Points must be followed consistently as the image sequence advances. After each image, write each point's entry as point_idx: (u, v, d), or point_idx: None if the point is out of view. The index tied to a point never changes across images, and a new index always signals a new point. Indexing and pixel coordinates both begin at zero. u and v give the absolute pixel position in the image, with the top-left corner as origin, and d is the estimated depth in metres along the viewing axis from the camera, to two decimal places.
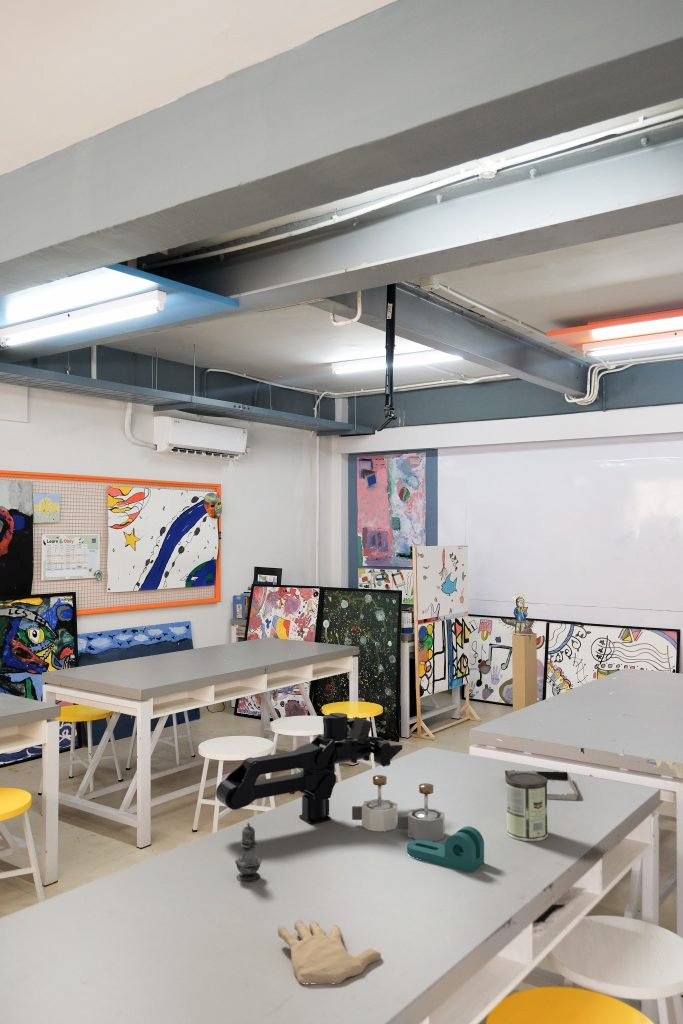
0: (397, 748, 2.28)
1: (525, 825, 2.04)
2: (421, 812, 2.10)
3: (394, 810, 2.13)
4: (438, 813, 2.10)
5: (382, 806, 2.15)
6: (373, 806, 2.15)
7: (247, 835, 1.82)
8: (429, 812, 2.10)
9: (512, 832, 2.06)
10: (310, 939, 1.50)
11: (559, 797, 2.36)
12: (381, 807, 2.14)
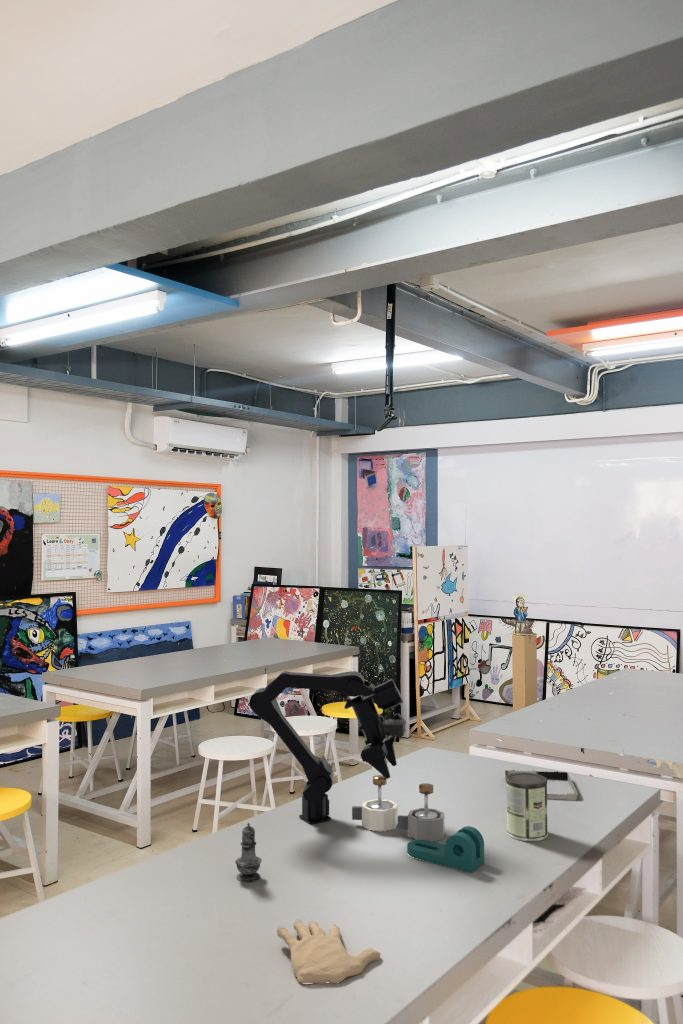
0: (384, 771, 2.14)
1: (525, 825, 2.04)
2: (421, 812, 2.10)
3: (394, 810, 2.13)
4: (438, 813, 2.10)
5: (382, 806, 2.15)
6: (373, 806, 2.15)
7: (247, 835, 1.82)
8: (429, 812, 2.10)
9: (512, 832, 2.06)
10: (309, 939, 1.50)
11: (559, 797, 2.36)
12: (381, 807, 2.14)
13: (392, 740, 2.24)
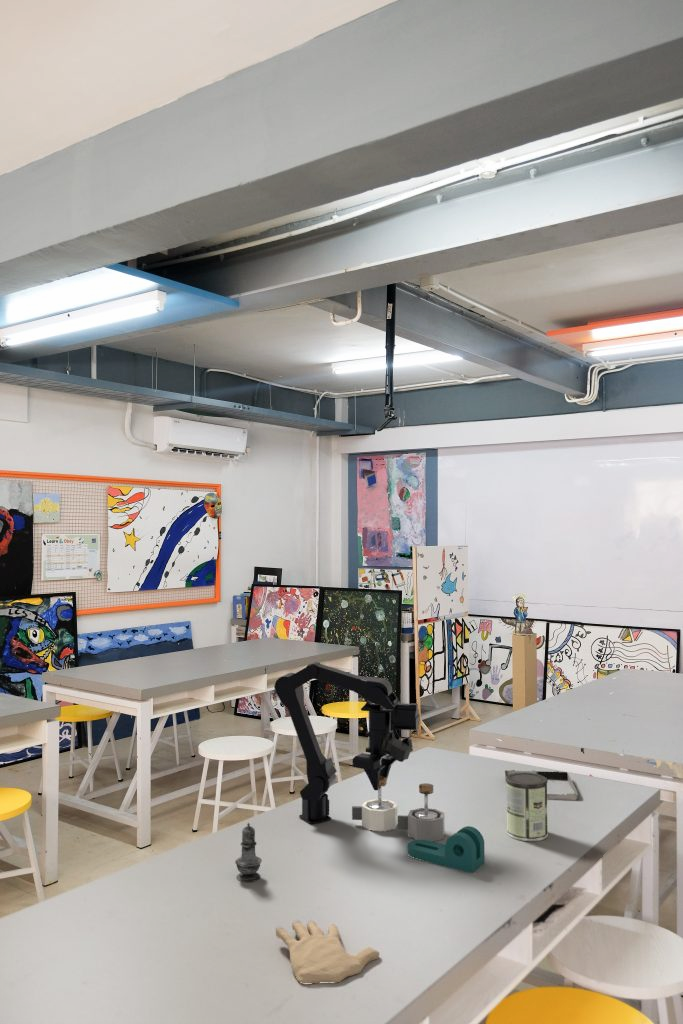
0: (374, 782, 2.13)
1: (525, 825, 2.04)
2: (421, 812, 2.10)
3: (394, 810, 2.13)
4: (438, 813, 2.10)
5: (382, 806, 2.15)
6: (373, 806, 2.15)
7: (247, 835, 1.82)
8: (429, 812, 2.10)
9: (512, 832, 2.06)
10: (308, 939, 1.50)
11: (559, 797, 2.36)
12: (381, 807, 2.14)
13: (390, 762, 2.17)
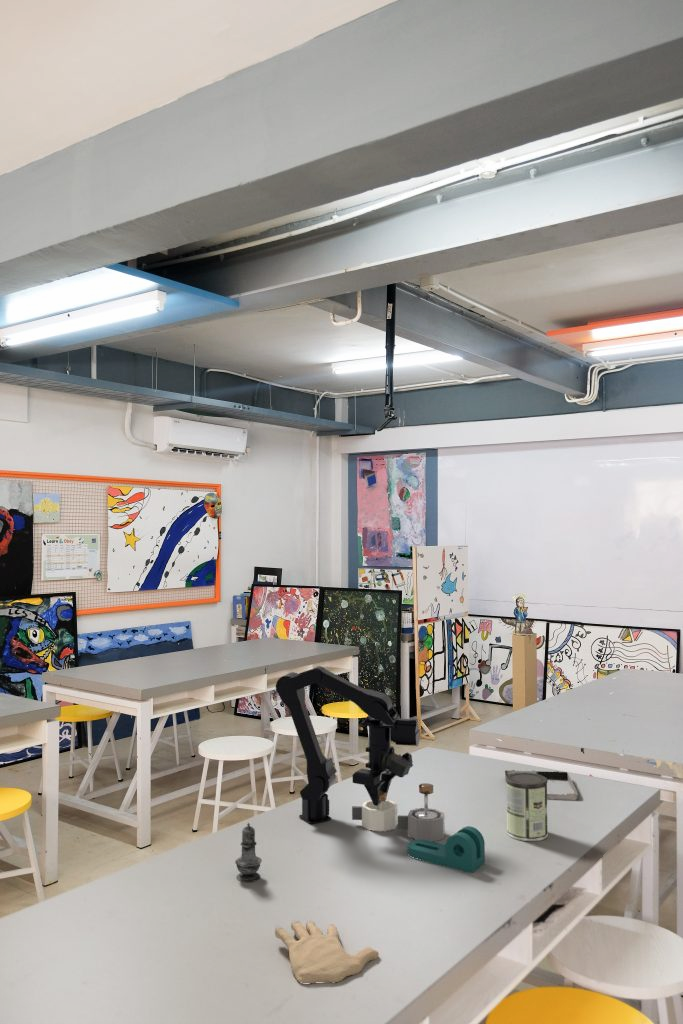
0: (374, 798, 2.13)
1: (525, 825, 2.04)
2: (421, 812, 2.10)
3: (394, 810, 2.13)
4: (438, 813, 2.10)
5: None
6: None
7: (247, 835, 1.82)
8: (429, 812, 2.10)
9: (512, 832, 2.06)
10: (307, 939, 1.50)
11: (559, 797, 2.36)
12: None
13: (390, 777, 2.17)
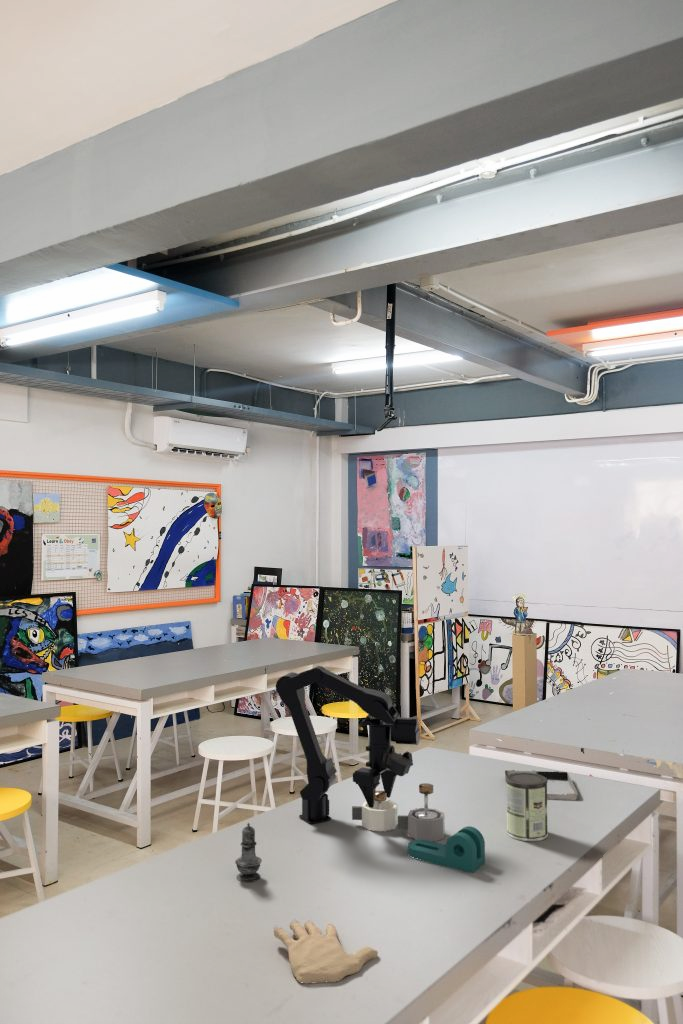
0: (369, 799, 2.11)
1: (525, 825, 2.04)
2: (421, 812, 2.10)
3: (394, 810, 2.13)
4: (438, 813, 2.10)
5: None
6: None
7: (247, 835, 1.82)
8: (429, 812, 2.10)
9: (512, 832, 2.06)
10: (306, 939, 1.50)
11: (559, 797, 2.36)
12: None
13: (395, 773, 2.19)
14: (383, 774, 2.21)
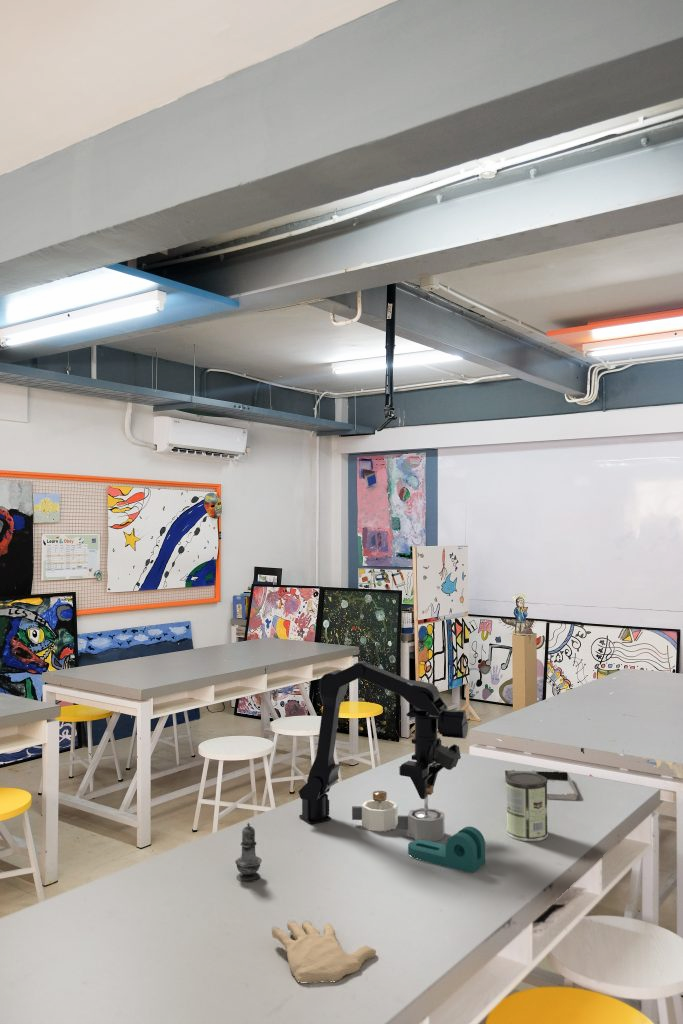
0: (421, 791, 2.06)
1: (525, 825, 2.04)
2: (421, 812, 2.10)
3: (394, 810, 2.13)
4: (438, 813, 2.10)
5: None
6: None
7: (247, 835, 1.82)
8: (429, 812, 2.10)
9: (512, 832, 2.06)
10: (305, 938, 1.50)
11: (559, 797, 2.36)
12: None
13: (437, 769, 2.10)
14: None
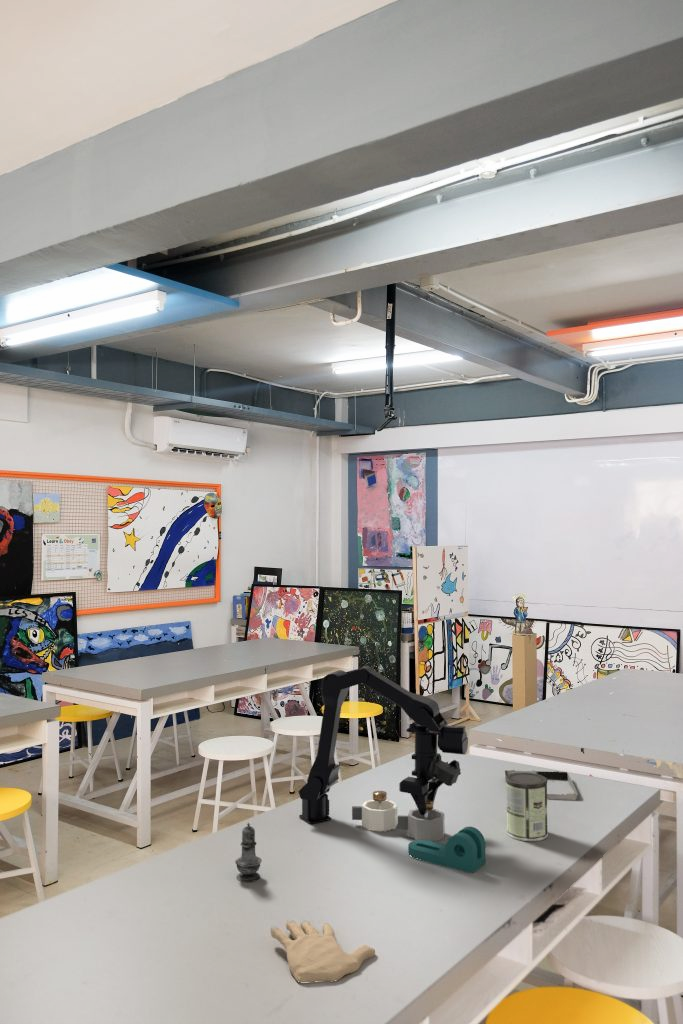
0: (421, 807, 2.06)
1: (525, 825, 2.04)
2: None
3: (394, 810, 2.13)
4: (438, 813, 2.10)
5: None
6: None
7: (247, 835, 1.82)
8: None
9: (512, 832, 2.06)
10: (304, 938, 1.50)
11: (559, 797, 2.36)
12: None
13: (437, 785, 2.10)
14: None
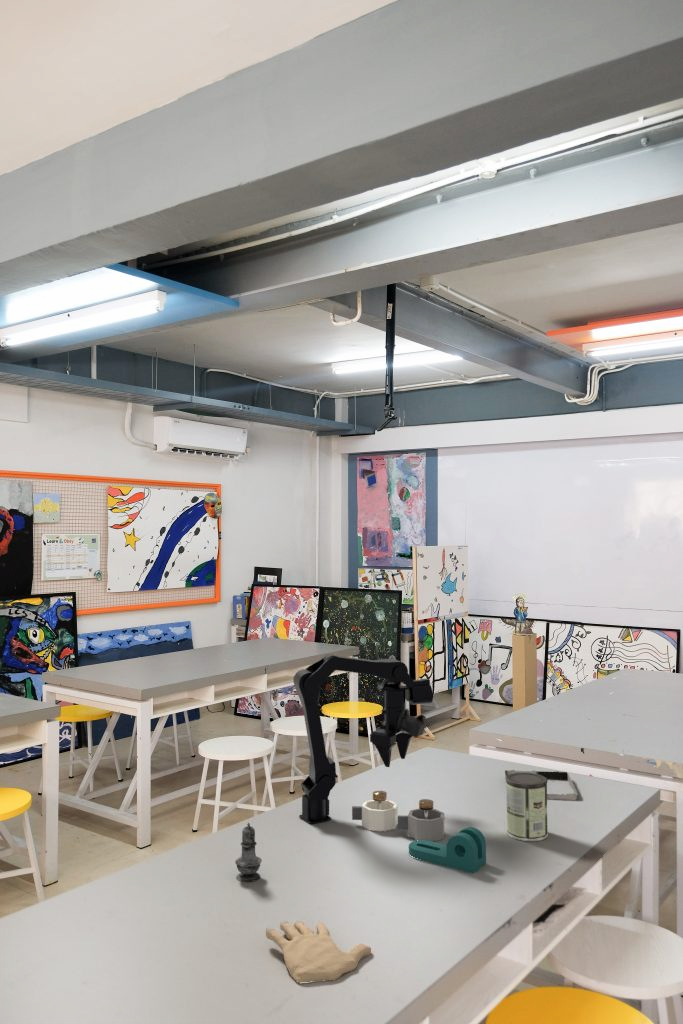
0: (386, 759, 2.22)
1: (525, 825, 2.04)
2: None
3: (394, 810, 2.13)
4: (438, 813, 2.10)
5: None
6: None
7: (247, 835, 1.82)
8: None
9: (512, 832, 2.06)
10: (300, 938, 1.50)
11: (559, 797, 2.36)
12: None
13: (410, 736, 2.31)
14: (398, 737, 2.32)
